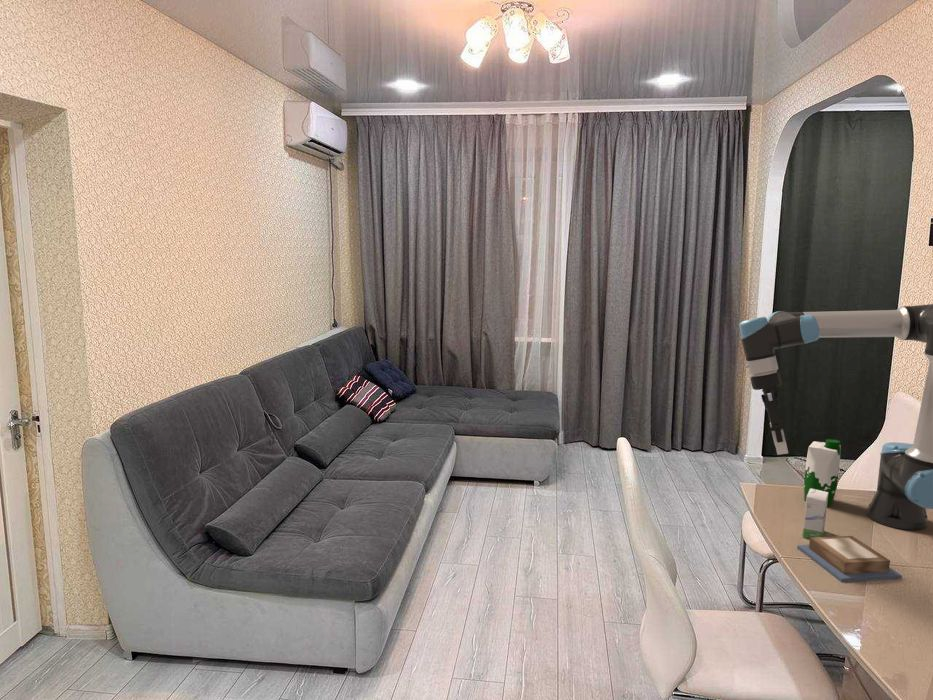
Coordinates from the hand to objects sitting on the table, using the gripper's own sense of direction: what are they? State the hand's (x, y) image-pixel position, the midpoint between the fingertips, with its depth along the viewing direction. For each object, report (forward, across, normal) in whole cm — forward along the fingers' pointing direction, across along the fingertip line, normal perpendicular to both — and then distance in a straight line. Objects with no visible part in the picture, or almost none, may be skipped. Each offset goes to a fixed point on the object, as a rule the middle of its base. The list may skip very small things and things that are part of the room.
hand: (781, 449), depth 190 cm
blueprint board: (+29, +10, +9) cm, 32 cm away
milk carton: (+25, -34, +8) cm, 43 cm away
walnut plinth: (+29, +10, +9) cm, 32 cm away
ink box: (+26, -6, +3) cm, 27 cm away
